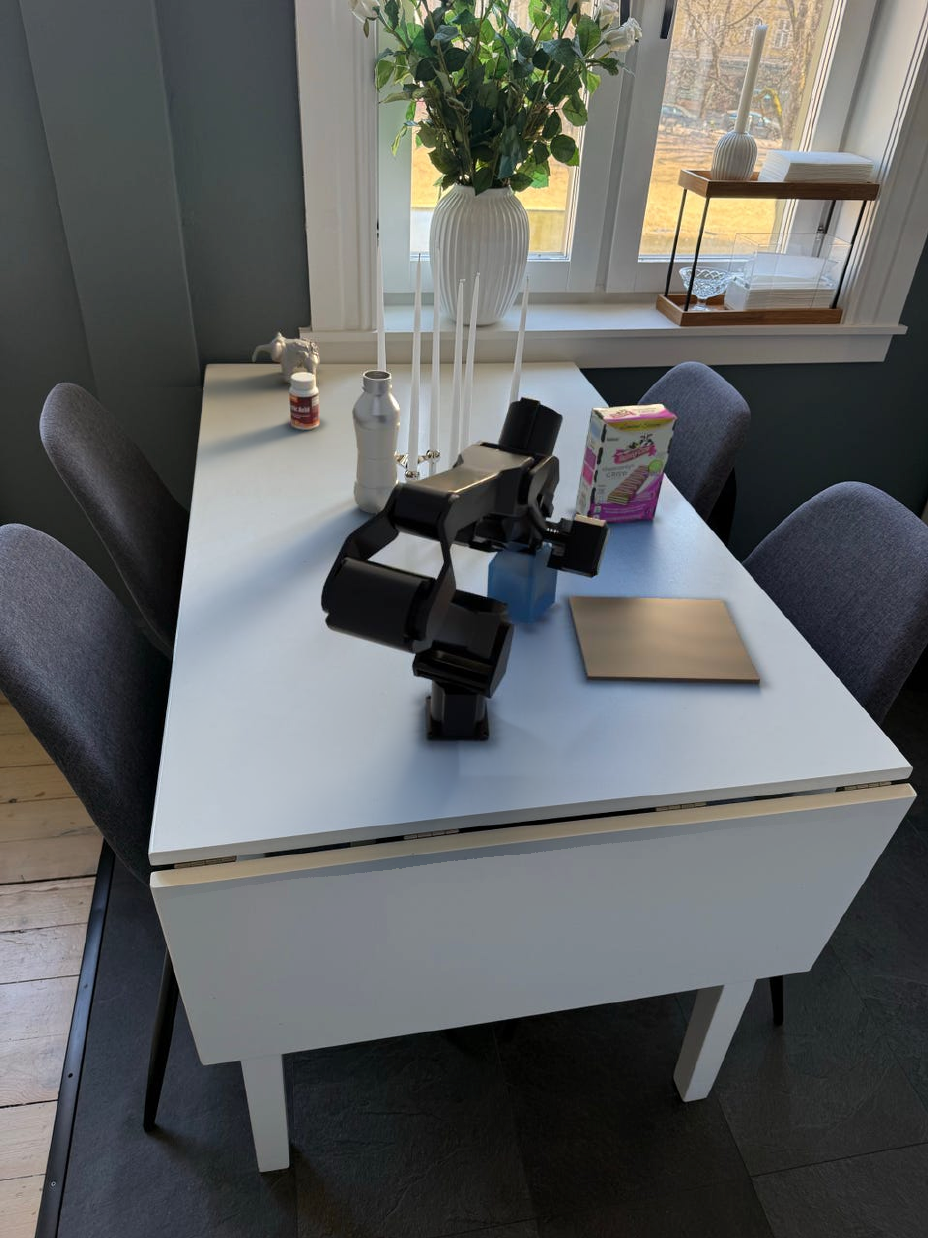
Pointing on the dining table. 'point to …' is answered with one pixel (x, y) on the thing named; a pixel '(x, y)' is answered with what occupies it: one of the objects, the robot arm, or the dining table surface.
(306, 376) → the pill bottle
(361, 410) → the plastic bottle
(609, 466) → the candy bar box
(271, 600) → the dining table surface
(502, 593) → the perfume bottle
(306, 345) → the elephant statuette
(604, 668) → the walnut board
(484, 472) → the robot arm
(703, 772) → the dining table surface
